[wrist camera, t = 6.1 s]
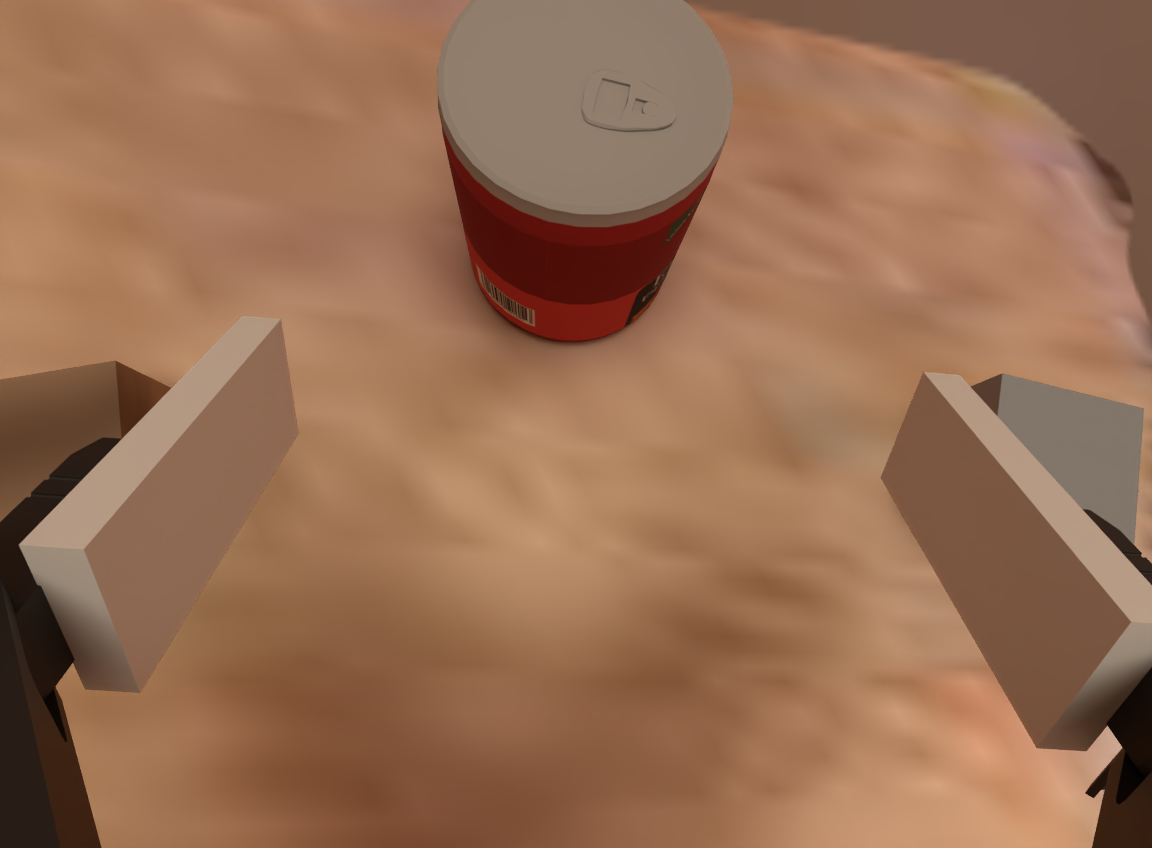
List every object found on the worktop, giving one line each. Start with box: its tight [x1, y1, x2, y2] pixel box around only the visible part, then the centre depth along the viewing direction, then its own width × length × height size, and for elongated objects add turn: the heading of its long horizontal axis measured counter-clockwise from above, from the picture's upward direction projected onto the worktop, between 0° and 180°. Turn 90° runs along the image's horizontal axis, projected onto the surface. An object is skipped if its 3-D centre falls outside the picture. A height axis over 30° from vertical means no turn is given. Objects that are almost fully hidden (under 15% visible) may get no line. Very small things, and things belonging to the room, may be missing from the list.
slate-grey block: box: [971, 373, 1144, 545], centre depth 26 cm, size 5×5×5 cm
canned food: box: [437, 0, 733, 341], centre depth 24 cm, size 8×8×11 cm
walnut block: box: [0, 361, 171, 522], centre depth 24 cm, size 5×5×5 cm
